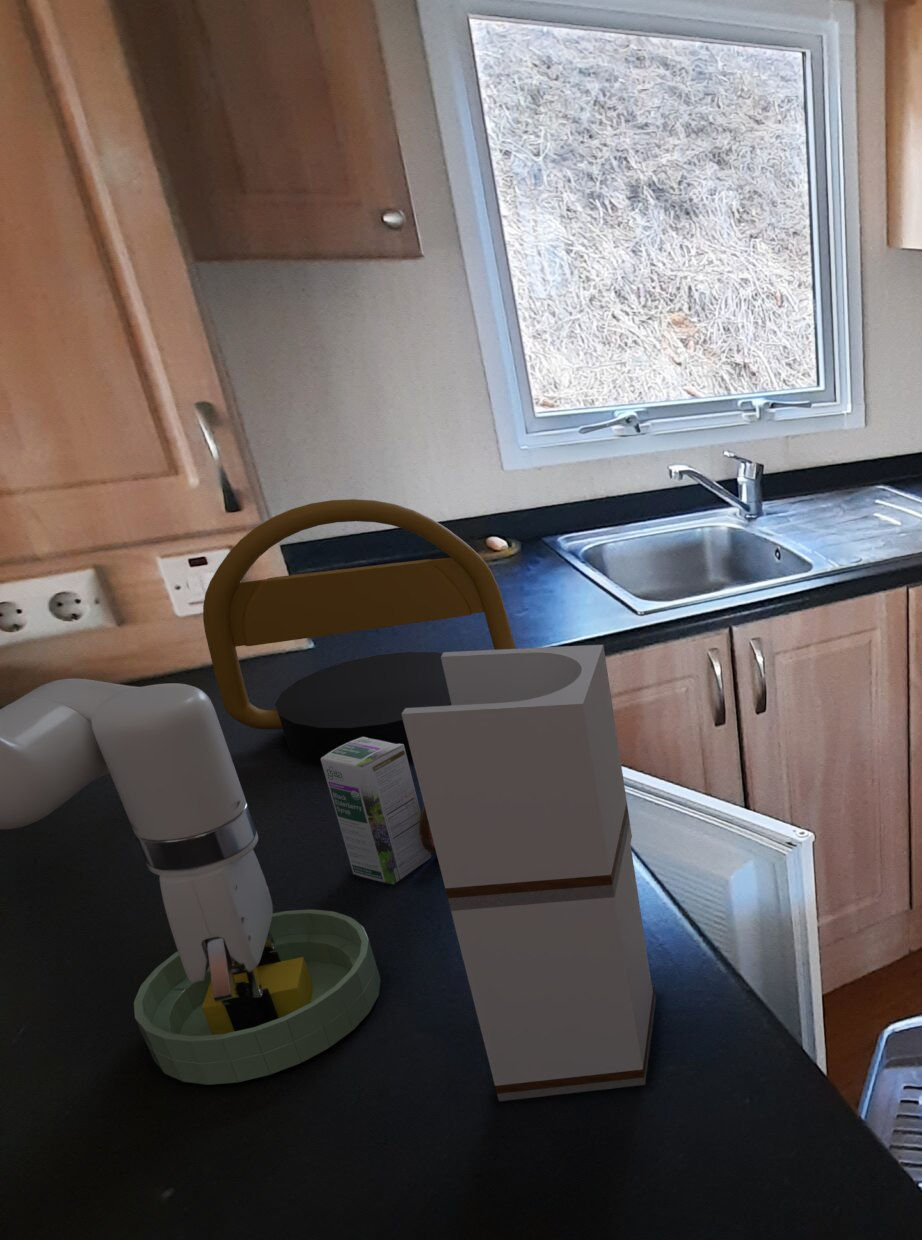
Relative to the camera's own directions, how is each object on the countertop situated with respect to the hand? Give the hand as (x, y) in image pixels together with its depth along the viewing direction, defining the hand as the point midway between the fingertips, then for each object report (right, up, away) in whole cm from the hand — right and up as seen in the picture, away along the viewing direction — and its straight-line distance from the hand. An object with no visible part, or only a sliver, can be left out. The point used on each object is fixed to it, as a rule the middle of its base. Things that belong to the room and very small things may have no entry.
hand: (263, 1009), depth 92 cm
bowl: (0, -1, +1) cm, 1 cm away
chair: (-17, +25, +51) cm, 60 cm away
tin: (+6, +13, +28) cm, 31 cm away
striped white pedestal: (+29, -3, -2) cm, 29 cm away
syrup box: (0, +10, +22) cm, 24 cm away
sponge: (0, 0, 0) cm, 0 cm away
